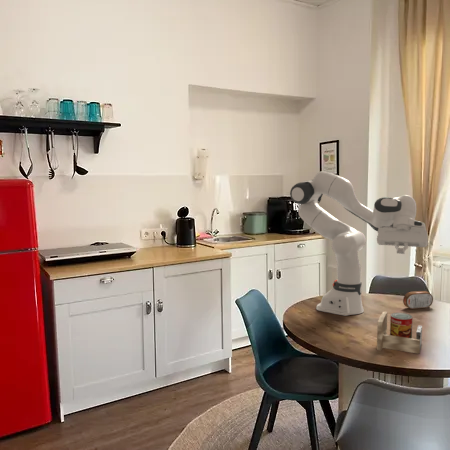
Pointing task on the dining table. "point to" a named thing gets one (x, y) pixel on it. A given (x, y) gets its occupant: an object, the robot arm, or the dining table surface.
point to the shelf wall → (394, 338)
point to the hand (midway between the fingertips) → (400, 252)
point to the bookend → (419, 334)
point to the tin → (418, 299)
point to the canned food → (401, 325)
